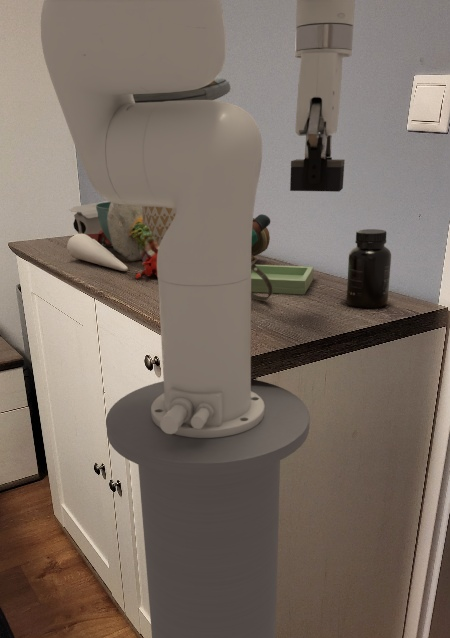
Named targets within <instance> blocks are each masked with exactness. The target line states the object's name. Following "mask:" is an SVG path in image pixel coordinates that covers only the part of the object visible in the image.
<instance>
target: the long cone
mask: <svg viewBox="0 0 450 638" xmlns="http://www.w3.org/2000/svg"><path fill="white" fill-rule="evenodd" d="M66 249H67V252H68V254H69V255H70V256H71V257H72V258H74V259H77V260H81V261H85V262H88V263H92V264H95V265H98V266H103V267H105V268H110V269H113V270H116V271H120V272H121V271H122V272H128V270H129V268H128V266H127V265H126V264H125V263H124V262H122V261H121V260H120V259H118V258H117V256H115V255H114V254H113V253H112V252H111V251H110V250H108V249H107V248H106V247H105V246H104V245H101V244H100V243H98V242H97V241H96V240H95V239H92V238H90V237H89V236H88V235H86V234H78V233H76V234H74V235H73V236H71V237H70V238H69V239H68V241H67V244H66Z"/></svg>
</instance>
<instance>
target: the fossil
mask: <svg viewBox="0 0 450 638" xmlns="http://www.w3.org/2000/svg"><path fill="white" fill-rule="evenodd" d="M138 221H139V222H141V223H143V217H142V206H131V205H121V204H116V203H113V202H111V203H110V206H109V211H108V215H107V224H108V229H109V234H110V238H111V241H112V248H113V247H114V248H113V250H114V249H115V250H116V251H115V250H114V251H115V252H117V253H118V254H119V255H121V256H122V257H123V258H124V259H126V260H128V261H130V262H132V263H133V262H137V261H142V259H141V256H140V251H139V249H138V244H137V241H136V239H134V238H133V237H132V231H131V229H132V227H133V226H134V225H135V223H136V222H138Z"/></svg>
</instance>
